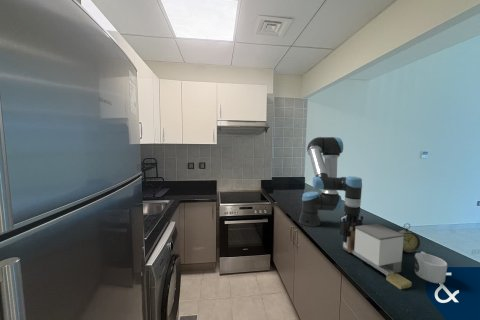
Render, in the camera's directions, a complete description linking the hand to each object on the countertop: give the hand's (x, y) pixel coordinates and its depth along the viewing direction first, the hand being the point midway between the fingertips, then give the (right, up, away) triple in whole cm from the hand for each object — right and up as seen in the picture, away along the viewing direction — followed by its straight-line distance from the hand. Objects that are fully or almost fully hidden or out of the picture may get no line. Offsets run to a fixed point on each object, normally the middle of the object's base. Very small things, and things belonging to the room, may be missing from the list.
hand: (350, 246), depth 109 cm
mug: (+25, -5, -18) cm, 32 cm away
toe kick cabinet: (+6, -4, -12) cm, 14 cm away
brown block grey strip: (+3, -2, -9) cm, 10 cm away
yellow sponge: (+7, -5, -24) cm, 26 cm away
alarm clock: (+31, -3, +1) cm, 32 cm away
